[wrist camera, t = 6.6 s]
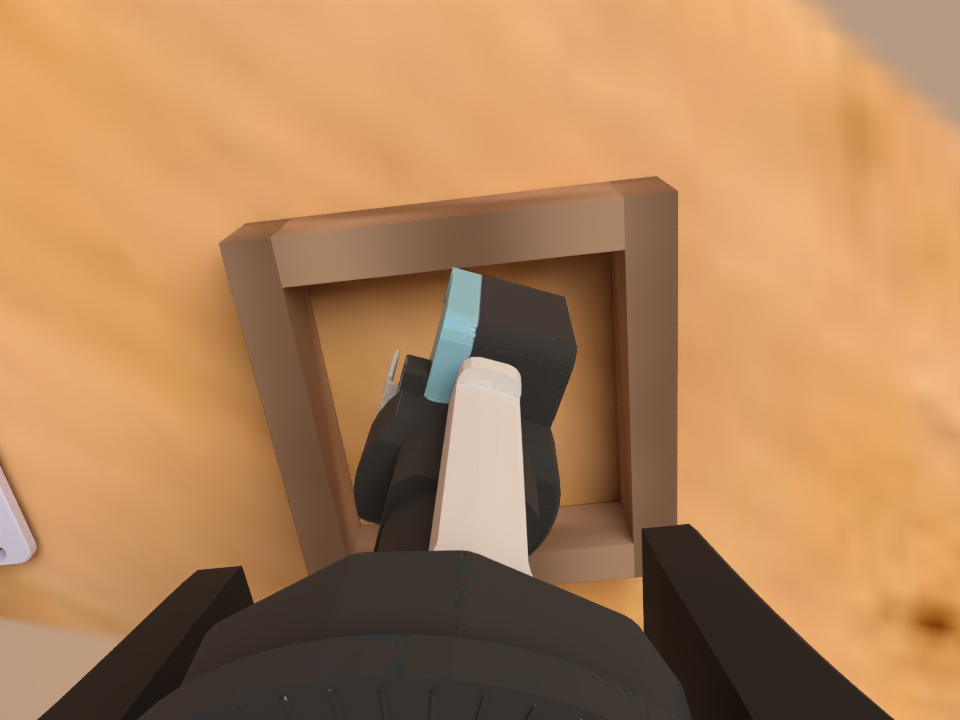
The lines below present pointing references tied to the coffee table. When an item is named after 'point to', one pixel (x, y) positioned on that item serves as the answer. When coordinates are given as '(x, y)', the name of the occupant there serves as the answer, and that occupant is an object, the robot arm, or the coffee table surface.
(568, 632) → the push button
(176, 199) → the coffee table surface
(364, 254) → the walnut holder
